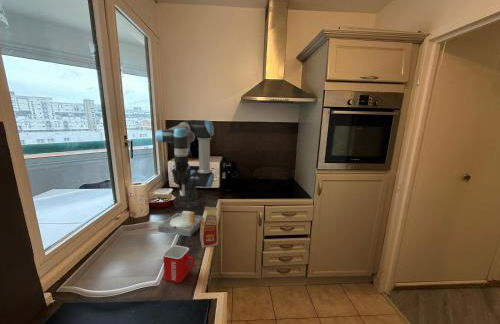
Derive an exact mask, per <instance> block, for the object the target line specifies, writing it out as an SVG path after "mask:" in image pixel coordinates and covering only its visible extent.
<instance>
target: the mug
mask: <svg viewBox="0 0 500 324" xmlns="http://www.w3.org/2000/svg"><path fill="white" fill-rule="evenodd" d="M189 251H190V248H189V247H186V246H184V245H182V246H181V245H171V246H170V247H169V248H168V249H167V250H166V251H164V252H163V253H162V256H163V278H164V281H168V282H172V283H175V284H176V283H181V282H183V280H184V279H185V278H186V277H187V276H188V274H189V271H190V270H192V269H193V268H194V267H195V258H194V257H192V256H189ZM189 260H191V266H190V265H189V264H190V263H189Z"/></svg>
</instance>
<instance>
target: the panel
mask: <svg viewBox="0 0 500 324" xmlns="http://www.w3.org/2000/svg"><path fill="white" fill-rule="evenodd" d="M179 216H182V212H176V213H175V214H173V215H172V216H170V217H168V218H167V219H165V220H164V221H163V222H162V223H160V224H159V225H158V226H157V229H158V233H164V234H165V233H166V234H170V235H177V234H178V235H177V236H184V237H192V236H193V235H194V234H195V233H196V232H197V231H198V229H200V227H201V220H202V217H203V215H199V214H197V215H196V214H195V219H196V222H195V224H194V225H193V226H192V227H189V228H178V227H176V226H175V227H171V226H170V221H171V220H172V219H173V218H175V217H179Z"/></svg>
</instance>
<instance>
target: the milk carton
mask: <svg viewBox="0 0 500 324" xmlns="http://www.w3.org/2000/svg"><path fill="white" fill-rule="evenodd" d="M218 209H219V207H211V206H210V207H209V206H204V210H203V214H202V216H203V217H202V220H201V226H200V227H199V240H200V243H201V247H202V249H203V248H209V247H212V246H213V247H214V246H217V245H219V227H218V226H219V225H218V217H217V216H218V215H217V210H218Z"/></svg>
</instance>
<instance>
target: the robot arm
mask: <svg viewBox="0 0 500 324" xmlns="http://www.w3.org/2000/svg"><path fill="white" fill-rule="evenodd" d="M214 135H215V128H214V123H213V122H212V121H211V120H207V119H203V120H202V119H200V120H199V119H188V120H185V121H182V122H180V123H179V124H178V125H175V126H173V127H170V128H168V129H157V130H156V132H155V140H156V141H157V142H158V143H163V144H164V143H165V144H166V143H168V144H173V145H174V148H173V149H174V151H173V152H174V167H172V168H170V171H171V173H172V178H173V180H174V184H175V185H177V186H178V191H179V195H178V199H179V201H182V202H192V200H193V201H195V200H198V198H199V196H198V193H197V190H196V188H199V187H200V188H211V187H212V186H213V183H214V180H215V174H214V173H213V171H212V169H211V147H210V144H211V142H210V141H211V139H212V138H213V136H214ZM195 138H196V139H197V140H198V170H197V171H196V170H195V169H193V166H192V165H190V164H189V144H191V143H193V142H194V141H195V140H196V139H195Z"/></svg>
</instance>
